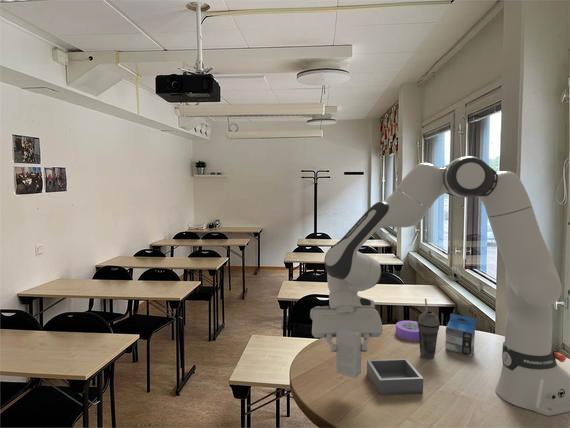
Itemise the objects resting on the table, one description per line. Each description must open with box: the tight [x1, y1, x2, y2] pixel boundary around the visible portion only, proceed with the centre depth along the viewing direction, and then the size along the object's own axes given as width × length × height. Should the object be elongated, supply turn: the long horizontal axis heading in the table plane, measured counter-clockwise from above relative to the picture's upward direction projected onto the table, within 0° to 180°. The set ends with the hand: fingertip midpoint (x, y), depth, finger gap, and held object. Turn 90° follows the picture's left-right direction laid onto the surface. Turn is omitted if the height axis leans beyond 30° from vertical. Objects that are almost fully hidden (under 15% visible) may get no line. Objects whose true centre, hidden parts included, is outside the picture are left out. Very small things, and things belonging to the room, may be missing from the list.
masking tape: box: [395, 320, 419, 342], centre depth 158 cm, size 12×12×4 cm
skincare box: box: [335, 329, 362, 379], centre depth 114 cm, size 6×4×12 cm
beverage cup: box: [416, 298, 441, 360], centre depth 138 cm, size 7×7×20 cm
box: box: [366, 358, 425, 397], centre depth 120 cm, size 13×13×4 cm
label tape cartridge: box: [445, 313, 476, 357], centre depth 142 cm, size 9×4×12 cm, turn 49°
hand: (349, 351), depth 113 cm, fingers closed on skincare box, 7 cm apart
